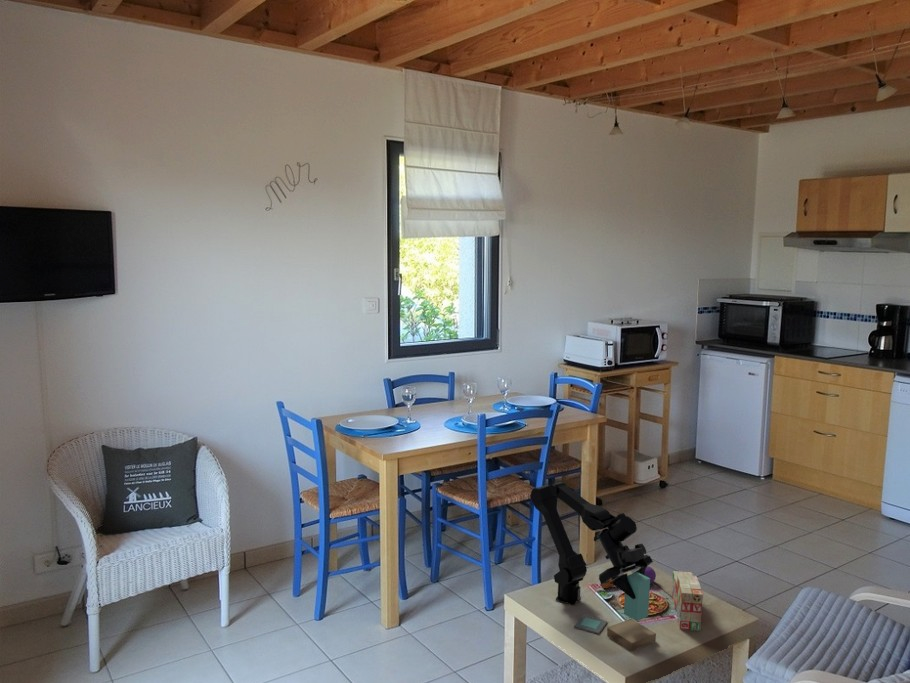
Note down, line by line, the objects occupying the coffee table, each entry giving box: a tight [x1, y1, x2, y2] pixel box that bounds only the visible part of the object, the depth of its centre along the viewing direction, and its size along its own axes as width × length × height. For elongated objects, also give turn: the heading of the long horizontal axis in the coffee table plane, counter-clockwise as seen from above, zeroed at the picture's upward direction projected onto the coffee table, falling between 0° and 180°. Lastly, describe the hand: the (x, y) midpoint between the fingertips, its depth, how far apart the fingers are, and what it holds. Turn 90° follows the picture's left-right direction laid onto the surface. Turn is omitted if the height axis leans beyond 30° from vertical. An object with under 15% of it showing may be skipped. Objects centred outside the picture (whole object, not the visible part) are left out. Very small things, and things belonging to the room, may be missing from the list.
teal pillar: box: [623, 572, 651, 622], centre depth 216 cm, size 5×5×12 cm
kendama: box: [599, 565, 657, 589], centre depth 250 cm, size 6×6×20 cm
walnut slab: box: [606, 618, 657, 652], centre depth 216 cm, size 10×10×3 cm
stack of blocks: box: [671, 570, 704, 632], centre depth 231 cm, size 21×6×12 cm, turn 170°
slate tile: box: [573, 614, 608, 635], centre depth 224 cm, size 8×8×1 cm
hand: (640, 596), depth 215 cm, fingers closed on teal pillar, 5 cm apart
